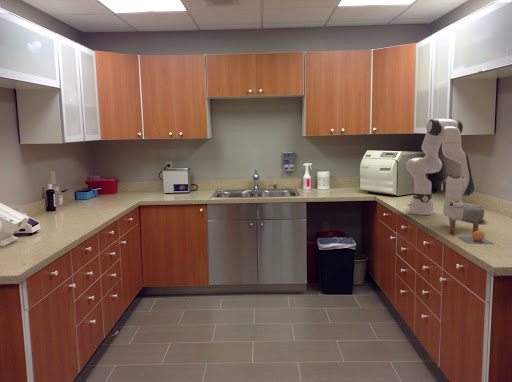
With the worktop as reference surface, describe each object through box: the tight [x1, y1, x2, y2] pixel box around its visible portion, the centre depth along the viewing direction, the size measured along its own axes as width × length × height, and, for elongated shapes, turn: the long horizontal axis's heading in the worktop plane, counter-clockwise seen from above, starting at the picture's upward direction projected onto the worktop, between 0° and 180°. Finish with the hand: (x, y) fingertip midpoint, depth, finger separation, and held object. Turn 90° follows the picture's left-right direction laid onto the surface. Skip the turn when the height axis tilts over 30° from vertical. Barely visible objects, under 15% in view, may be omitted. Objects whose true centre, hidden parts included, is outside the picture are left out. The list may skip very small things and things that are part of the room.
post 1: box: [449, 220, 457, 236], centre depth 246 cm, size 3×3×8 cm
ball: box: [472, 230, 485, 241], centre depth 230 cm, size 6×6×6 cm
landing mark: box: [457, 236, 494, 245], centre depth 232 cm, size 13×13×1 cm
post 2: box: [472, 220, 480, 234], centre depth 245 cm, size 3×3×8 cm
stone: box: [461, 202, 485, 223], centre depth 287 cm, size 28×10×20 cm
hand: (451, 224), depth 262 cm, fingers closed
